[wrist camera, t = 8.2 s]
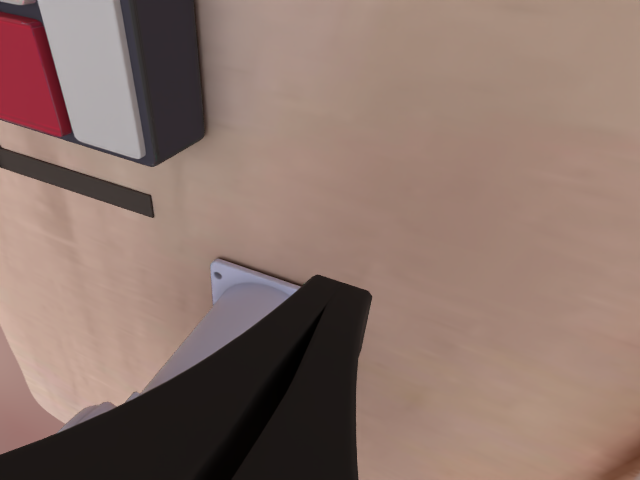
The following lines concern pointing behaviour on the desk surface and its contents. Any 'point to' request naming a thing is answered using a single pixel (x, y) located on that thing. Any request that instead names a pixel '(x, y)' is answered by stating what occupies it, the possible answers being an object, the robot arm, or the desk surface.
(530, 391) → the desk surface
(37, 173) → the strip
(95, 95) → the calculator
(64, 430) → the robot arm
